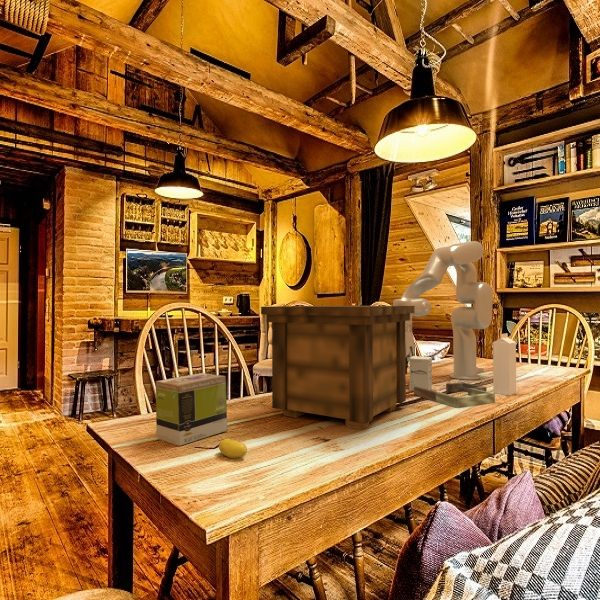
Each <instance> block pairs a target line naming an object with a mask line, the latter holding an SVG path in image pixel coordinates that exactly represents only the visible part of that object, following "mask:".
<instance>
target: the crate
mask: <svg viewBox="0 0 600 600" xmlns="http://www.w3.org/2000/svg"><path fill="white" fill-rule="evenodd" d="M410 313H415V306H393V305H288V306H287V305H285V306H284V305H282V306H281V305H277V306H272V305H271V306H270V305H269V306H260V314H261V315H266V323H271V352H272V353H271V355H272V356H271V363H272V364H271V371H272V372H271V375H272V376H271V384H272V385H271V386H272V387H271V390H272V391H271V393H272V394H271V395H272V397H271V398H272V399H271V400H272V405H271V407H272V409H276V410H280V411H281V410H282V412H283V413H282V415H283V416H286V417H292V418H298V417H301V416H303V415H305V413H307V414H313V415H319V416H326V417H331V418H337V419H343V420H345V427H347V428H354V429H361V430H362V429H364V428H366V427H367V426H369V423H370V422H371V421H373V420H374V417H375V416H377V415H378V414H380V413H382V412H389V413H391V412H393V411H395V410H396V409H397V404H403V403H405V402H406V401H407V400H406V399H407V398H406V397H407V395H406V393H407V392H406V389H407V387H406V381H407V380H406V379H407V378H406V375H407V374H406V370H405V321H409V320H410Z"/></svg>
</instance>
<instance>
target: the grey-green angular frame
mask: <svg viewBox="0 0 600 600" xmlns="http://www.w3.org/2000/svg"><path fill="white" fill-rule="evenodd" d="M445 386H446V387H445V391H446V392H447V393H443V392H440V391H436V390H435V391H434V390H432V389H431V390H428V389H424V388H420V387H414V391H413V395H414V396H415V395H417V396H416V397H418V396H421V397H423V398H422V399H425V400H429V401H433V402H436V403H439V404H442V405H446V406H449V407H453V408H456V409H460V408H467V407H473V406H480V405H487V404H493V403H496V393H493V392H490V391H487V390H488V389H487V386H482V385H477V384H473V383H468V382H463V381H462V382H454V383H450V382H446V383H445ZM459 392H465V393H467V395H465V396H463V395H462V396H454V395H450V394H448V393H459ZM421 397H420V398H421Z"/></svg>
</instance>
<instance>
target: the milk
mask: <svg viewBox="0 0 600 600" xmlns="http://www.w3.org/2000/svg"><path fill="white" fill-rule="evenodd" d="M508 335H509V334H508V333H507V332H506V333H501V334H500V338H499V339H497V340H495V341H493V342H492V371H493V372H492V373H493V377H492V379H493V380H492V382H493V383H492V387H493V388H492V391H493V392H492V393H495V395H503V396H509V397H510V396H512V395H515V394H517V343H516V341H515V340H513V339H511V338H510V337H509V336H508Z"/></svg>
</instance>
